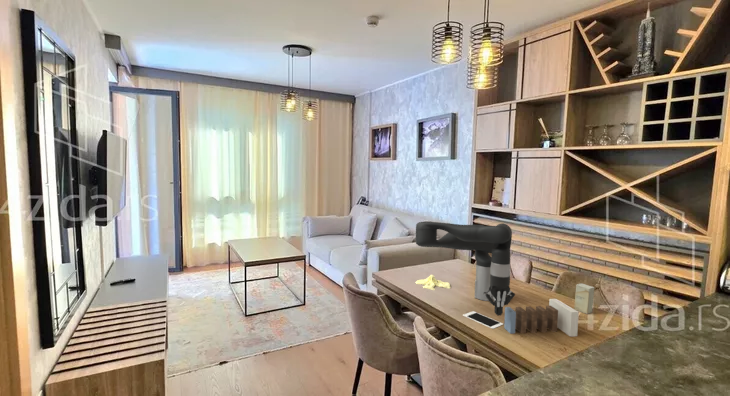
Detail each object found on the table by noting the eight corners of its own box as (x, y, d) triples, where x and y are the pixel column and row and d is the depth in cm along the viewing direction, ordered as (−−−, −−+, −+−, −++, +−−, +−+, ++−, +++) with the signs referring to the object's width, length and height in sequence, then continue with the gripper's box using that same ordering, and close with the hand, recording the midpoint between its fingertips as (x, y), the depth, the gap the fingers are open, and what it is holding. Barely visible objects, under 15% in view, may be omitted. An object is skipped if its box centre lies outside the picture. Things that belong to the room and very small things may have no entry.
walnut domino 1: (521, 333, 141) (522, 311, 140) (514, 327, 146) (515, 306, 145) (525, 333, 141) (526, 311, 141) (519, 327, 146) (520, 306, 146)
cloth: (457, 288, 196) (457, 277, 195) (430, 293, 187) (430, 282, 187) (432, 276, 215) (432, 267, 215) (407, 281, 207) (407, 270, 206)
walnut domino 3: (542, 332, 142) (543, 310, 141) (534, 326, 147) (535, 306, 146) (546, 332, 142) (547, 310, 142) (539, 326, 147) (540, 305, 147)
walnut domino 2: (531, 332, 142) (532, 311, 141) (524, 327, 147) (525, 306, 146) (536, 332, 142) (537, 311, 141) (529, 326, 147) (530, 306, 146)
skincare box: (573, 309, 165) (575, 284, 164) (579, 307, 167) (580, 282, 166) (587, 314, 160) (589, 288, 159) (593, 312, 162) (594, 287, 161)
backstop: (570, 336, 139) (571, 312, 138) (548, 321, 153) (549, 298, 152) (577, 336, 139) (578, 311, 138) (554, 320, 153) (555, 298, 152)
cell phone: (473, 312, 163) (473, 310, 163) (504, 325, 149) (504, 323, 149) (462, 316, 158) (462, 314, 158) (492, 329, 145) (492, 328, 145)
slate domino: (510, 333, 141) (511, 312, 140) (504, 327, 146) (505, 307, 145) (515, 333, 141) (516, 311, 140) (508, 327, 146) (509, 307, 145)
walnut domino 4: (552, 331, 143) (553, 310, 142) (544, 326, 148) (545, 305, 147) (556, 331, 143) (558, 310, 142) (549, 326, 148) (550, 305, 147)
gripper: (488, 276, 136) (487, 319, 138) (520, 275, 138) (518, 318, 139) (480, 271, 144) (479, 311, 145) (510, 270, 145) (509, 310, 147)
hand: (498, 314), depth 142 cm, fingers closed
